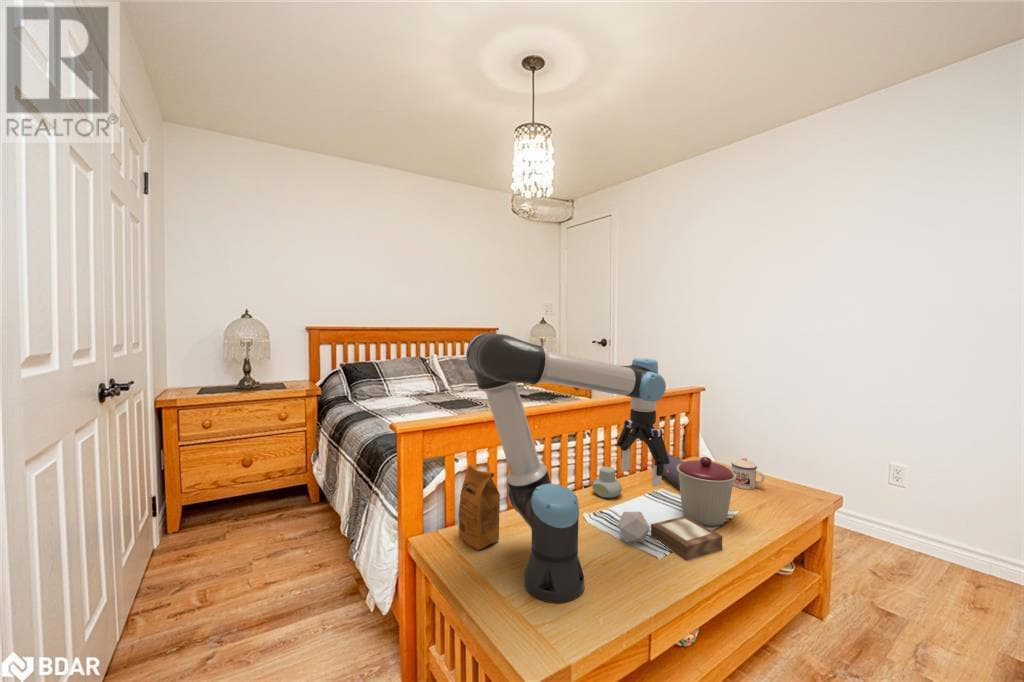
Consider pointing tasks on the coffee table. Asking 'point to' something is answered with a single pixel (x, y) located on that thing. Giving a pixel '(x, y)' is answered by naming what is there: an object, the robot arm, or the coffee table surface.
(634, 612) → the coffee table surface
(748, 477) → the teacup with lid
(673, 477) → the bluetooth speaker
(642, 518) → the die
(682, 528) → the base
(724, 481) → the canister
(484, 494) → the coffee package
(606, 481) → the air freshener
